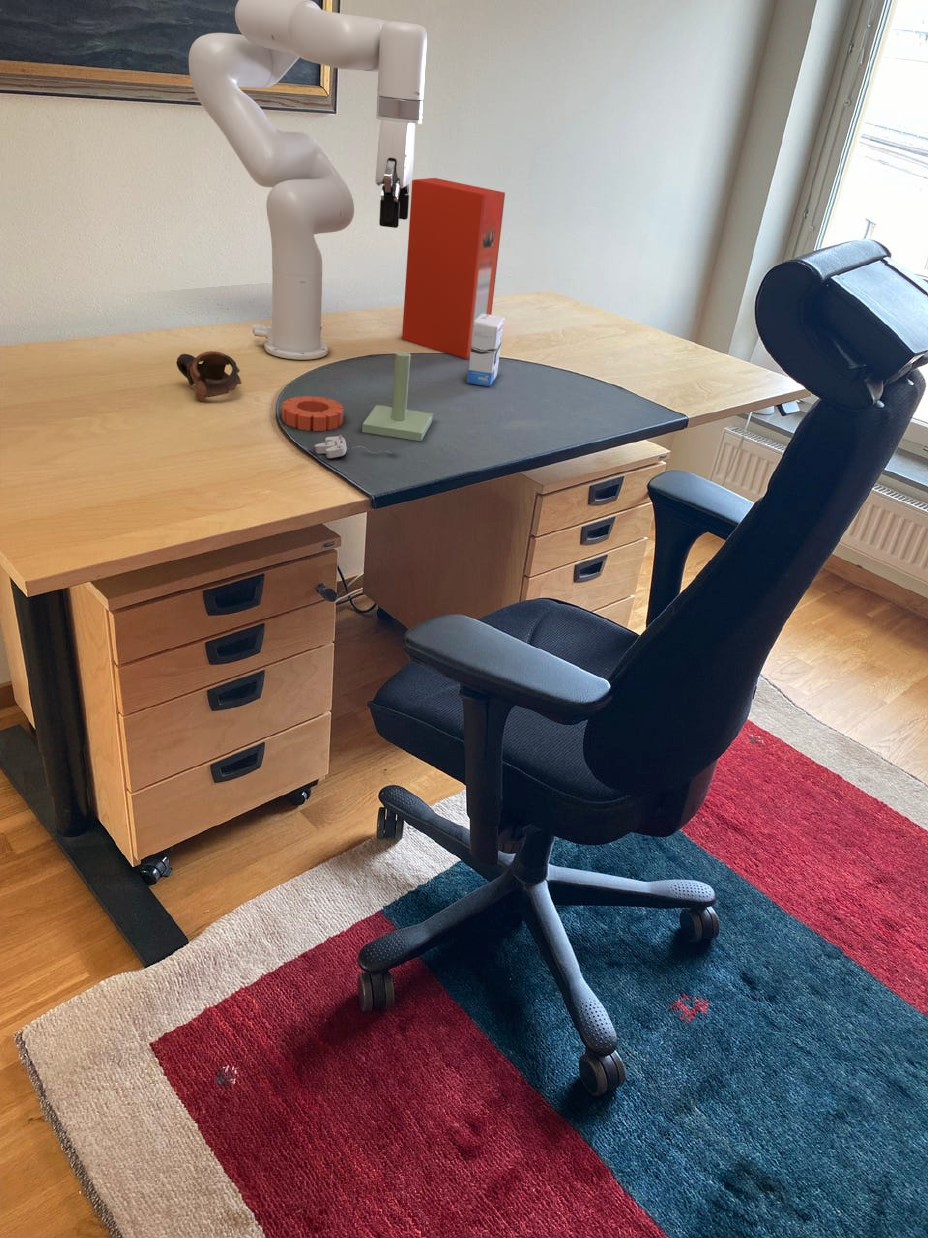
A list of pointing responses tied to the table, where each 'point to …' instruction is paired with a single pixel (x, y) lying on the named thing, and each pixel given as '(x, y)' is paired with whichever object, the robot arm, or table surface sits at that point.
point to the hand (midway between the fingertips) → (393, 222)
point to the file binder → (450, 262)
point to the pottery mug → (209, 373)
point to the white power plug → (333, 447)
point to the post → (398, 409)
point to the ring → (312, 413)
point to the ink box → (485, 349)
